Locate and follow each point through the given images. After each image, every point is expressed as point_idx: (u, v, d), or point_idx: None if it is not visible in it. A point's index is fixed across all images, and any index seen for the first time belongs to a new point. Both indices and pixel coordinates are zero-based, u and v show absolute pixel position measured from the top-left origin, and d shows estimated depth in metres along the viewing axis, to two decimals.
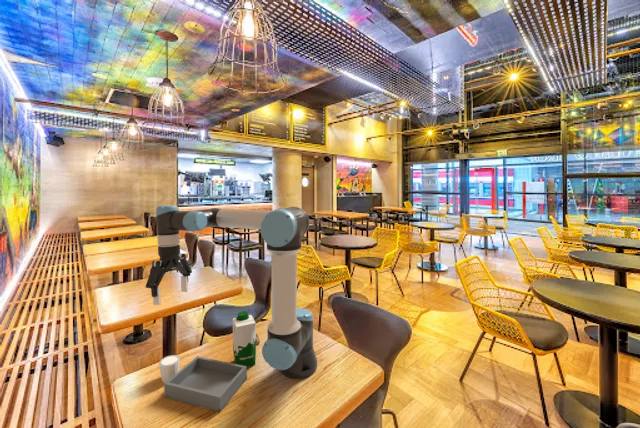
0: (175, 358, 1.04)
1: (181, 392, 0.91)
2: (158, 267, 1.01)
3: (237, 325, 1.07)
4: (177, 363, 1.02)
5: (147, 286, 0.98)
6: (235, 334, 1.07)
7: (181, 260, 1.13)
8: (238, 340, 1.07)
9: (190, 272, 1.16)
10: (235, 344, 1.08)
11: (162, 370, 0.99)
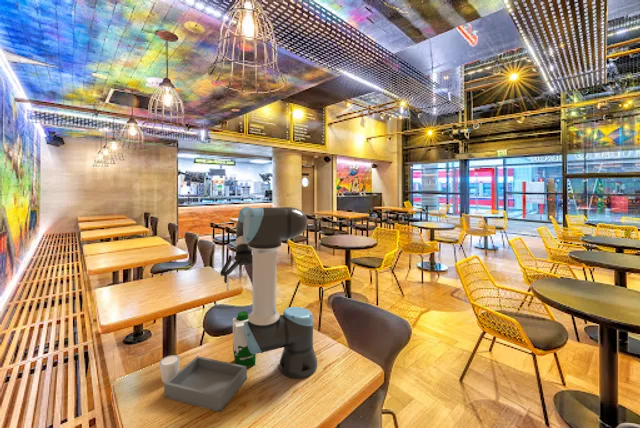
0: (175, 358, 1.04)
1: (181, 392, 0.91)
2: (229, 259, 1.26)
3: (237, 325, 1.07)
4: (177, 363, 1.02)
5: (220, 273, 1.23)
6: (235, 334, 1.07)
7: None
8: (238, 340, 1.07)
9: None
10: (235, 344, 1.08)
11: (162, 370, 0.99)
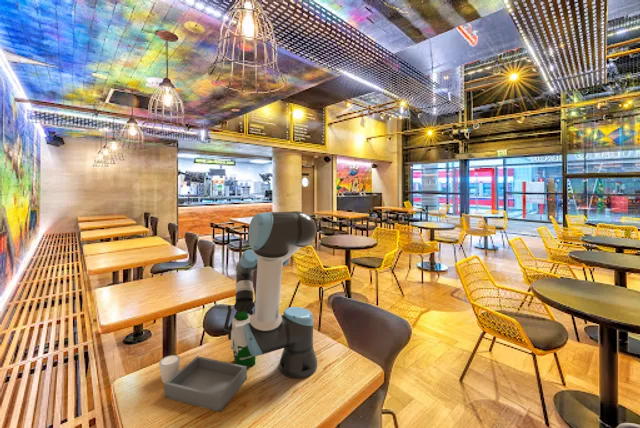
0: (175, 358, 1.04)
1: (181, 392, 0.91)
2: (229, 310, 1.15)
3: (236, 325, 1.07)
4: (177, 363, 1.02)
5: (224, 328, 1.12)
6: (234, 334, 1.07)
7: None
8: (238, 340, 1.07)
9: None
10: (235, 344, 1.08)
11: (162, 370, 0.99)
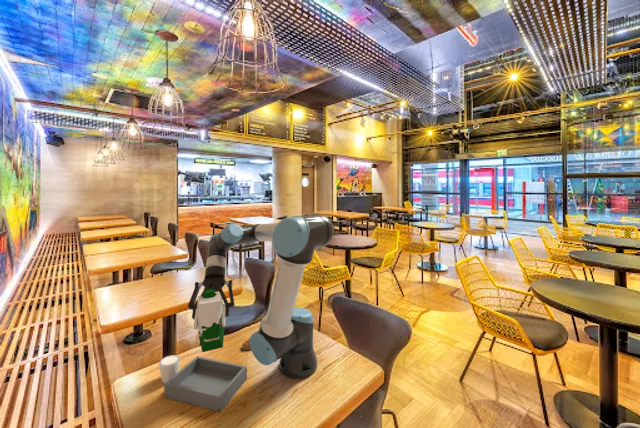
0: (175, 358, 1.04)
1: (181, 392, 0.91)
2: (196, 287, 1.03)
3: (200, 303, 0.95)
4: (177, 363, 1.02)
5: None
6: (198, 313, 0.95)
7: None
8: (202, 320, 0.95)
9: (231, 303, 1.02)
10: (199, 324, 0.96)
11: (162, 370, 0.99)
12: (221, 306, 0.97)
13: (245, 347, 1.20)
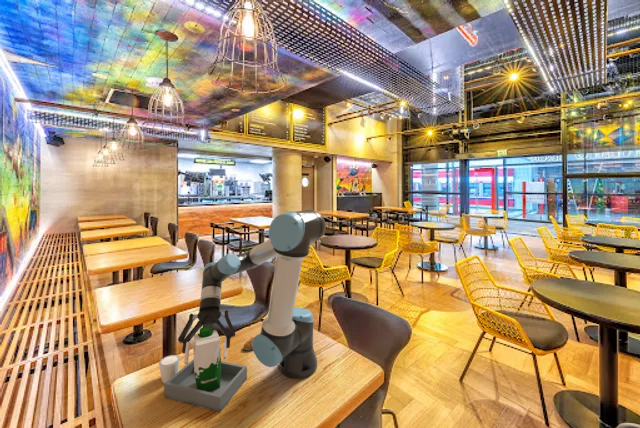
0: (175, 358, 1.04)
1: (181, 392, 0.91)
2: (190, 319, 1.01)
3: (197, 343, 0.92)
4: (177, 363, 1.02)
5: None
6: (195, 354, 0.93)
7: None
8: (199, 361, 0.92)
9: (232, 333, 1.00)
10: (195, 365, 0.93)
11: (162, 370, 0.99)
12: (219, 345, 0.96)
13: (247, 348, 1.20)
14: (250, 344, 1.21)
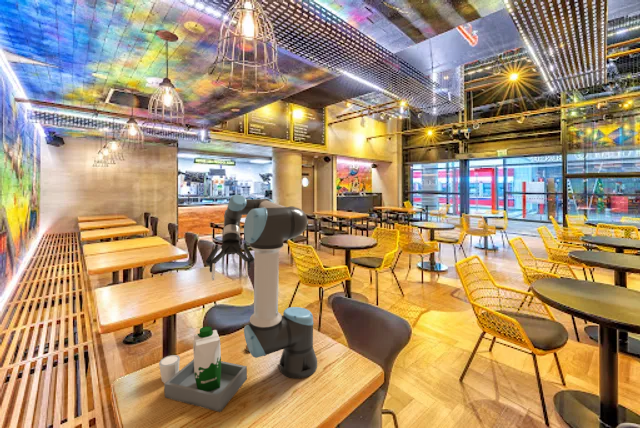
0: (175, 358, 1.04)
1: (181, 392, 0.91)
2: (215, 248, 1.22)
3: (197, 343, 0.92)
4: (177, 363, 1.02)
5: None
6: (195, 354, 0.93)
7: (244, 249, 1.25)
8: (199, 361, 0.92)
9: (252, 259, 1.22)
10: (195, 365, 0.93)
11: (162, 370, 0.99)
12: (219, 345, 0.96)
13: None
14: None
